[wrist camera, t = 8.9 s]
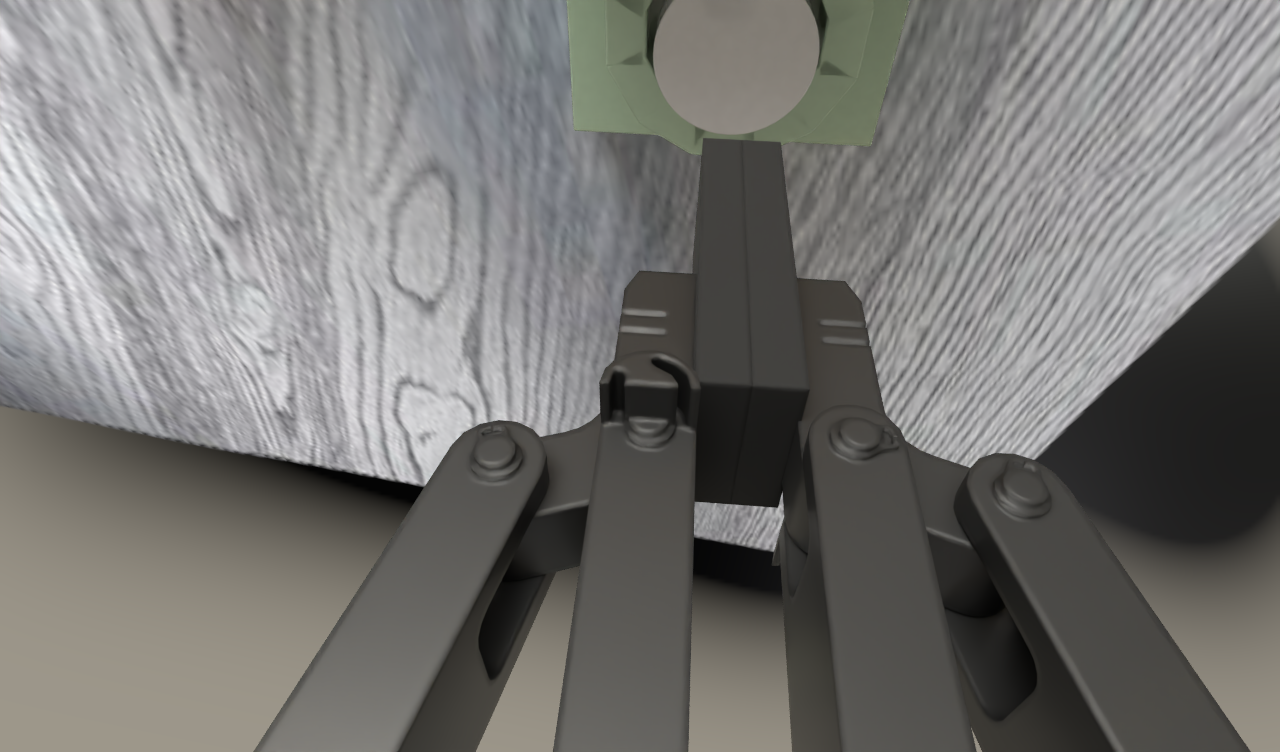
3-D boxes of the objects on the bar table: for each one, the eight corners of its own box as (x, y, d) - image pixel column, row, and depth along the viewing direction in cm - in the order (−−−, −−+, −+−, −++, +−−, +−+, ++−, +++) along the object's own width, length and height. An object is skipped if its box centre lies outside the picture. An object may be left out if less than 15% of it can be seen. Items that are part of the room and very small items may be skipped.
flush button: (654, 103, 22) (650, 131, 21) (659, -58, 19) (655, -36, 18) (799, 111, 22) (803, 139, 21) (828, -51, 19) (836, -29, 18)
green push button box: (585, 89, 27) (565, 158, 23) (575, -181, 21) (546, -141, 18) (858, 103, 26) (878, 175, 23) (924, -169, 21) (964, -125, 17)
